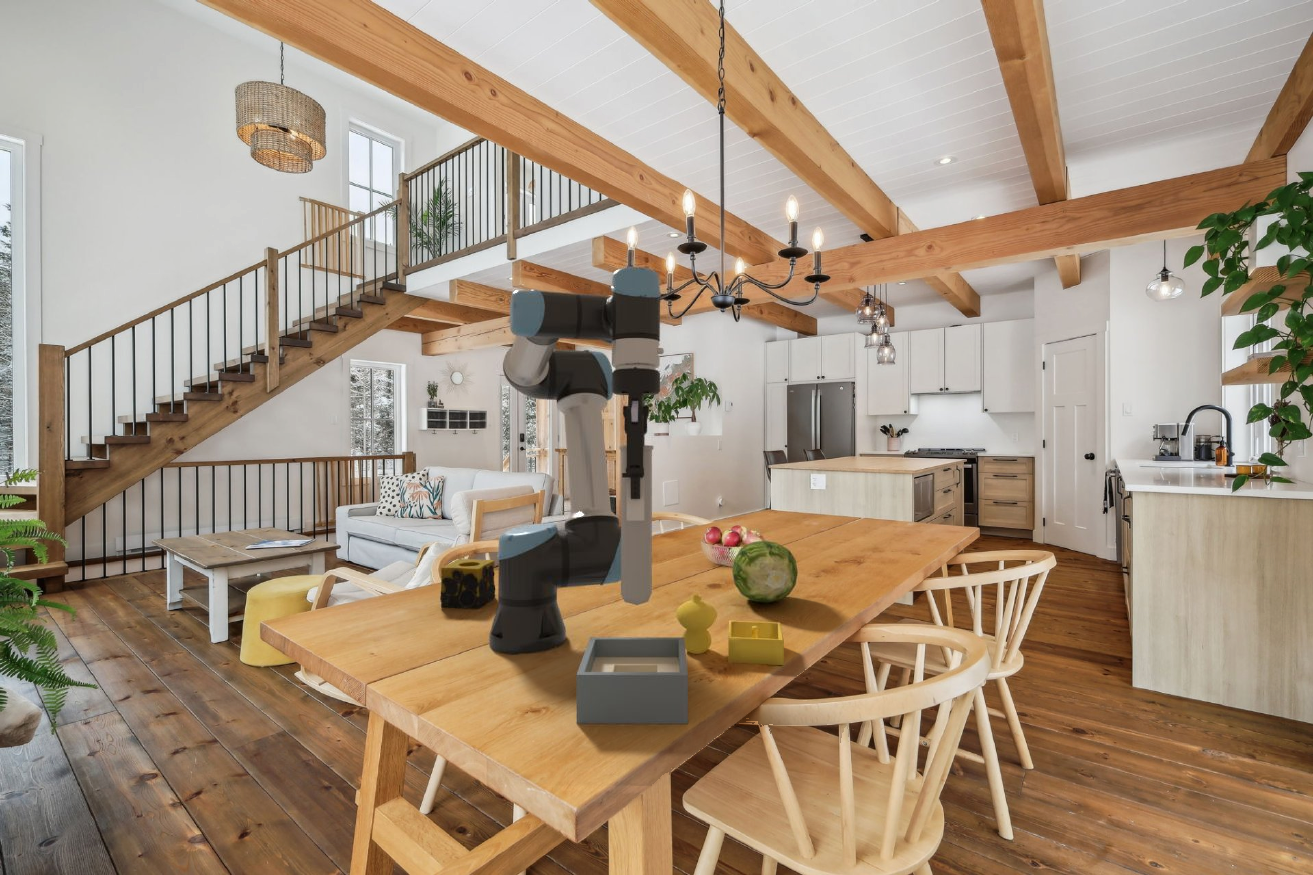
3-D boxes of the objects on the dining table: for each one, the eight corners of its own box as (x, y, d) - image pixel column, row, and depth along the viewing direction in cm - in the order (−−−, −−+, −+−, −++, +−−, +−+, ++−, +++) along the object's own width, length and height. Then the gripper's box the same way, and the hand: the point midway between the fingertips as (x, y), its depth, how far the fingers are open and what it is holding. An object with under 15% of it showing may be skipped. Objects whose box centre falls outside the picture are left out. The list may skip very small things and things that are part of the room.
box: (576, 723, 86) (576, 674, 86) (590, 678, 102) (590, 637, 102) (687, 724, 85) (687, 675, 85) (684, 678, 101) (684, 637, 101)
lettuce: (738, 617, 135) (738, 550, 135) (727, 593, 156) (727, 535, 156) (809, 617, 135) (809, 550, 135) (789, 593, 156) (789, 535, 156)
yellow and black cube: (458, 597, 154) (458, 558, 154) (496, 598, 153) (496, 559, 152) (439, 608, 144) (439, 567, 144) (478, 610, 142) (478, 568, 142)
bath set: (779, 645, 118) (779, 591, 118) (783, 665, 107) (783, 606, 107) (678, 641, 120) (678, 588, 120) (673, 660, 110) (673, 602, 110)
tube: (654, 609, 91) (654, 446, 91) (620, 610, 91) (620, 446, 91) (651, 599, 97) (651, 445, 97) (618, 600, 96) (618, 445, 96)
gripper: (660, 362, 85) (660, 526, 85) (659, 374, 102) (660, 510, 103) (607, 362, 85) (607, 526, 85) (616, 374, 103) (616, 510, 103)
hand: (636, 517), depth 94 cm, fingers closed on tube, 5 cm apart
